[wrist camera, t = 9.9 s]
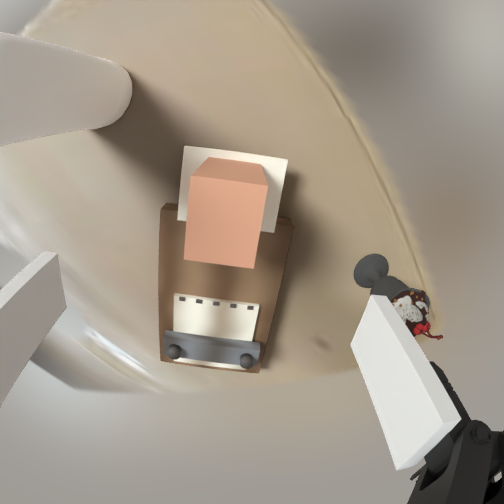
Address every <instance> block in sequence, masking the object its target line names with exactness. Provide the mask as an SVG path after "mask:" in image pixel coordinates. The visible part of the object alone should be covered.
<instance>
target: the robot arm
mask: <svg viewBox="0 0 504 504" xmlns="http://www.w3.org/2000/svg"><path fill="white" fill-rule="evenodd" d="M66 307H67V306H66V301H65V296H64V291H63V285H62V280H61V273H60V267H59V260H58V253H53V252H47V251H44V252H42V253H41V254H40V255H39V256H38V257H36V258H35V259H34V260H33V261H32V262H31V263H30V264H28V265H27V266H26V267H25V268H24V269H23V270H22V271H20V272H19V273H18V274H17V275H16V276H15V277H14V278H13V279H12V280H11V281H10V282H8V283H7V284H6V285H5V286H4V287H3V288H2V289H1V290H0V406H1V405H2V403H3V401H4V400H5V398H6V396H7V394H8V393H9V391H10V389H11V388H12V386H13V385H14V383H15V381H16V380H17V378H18V376H19V375H20V373H21V372H22V370H23V369H24V367H25V366H26V364H27V362H28V361H29V359H30V358H31V356H32V355H33V354H34V352H35V351H36V349H37V348H38V346H39V345H40V343H41V342H42V340H43V339H44V338H45V336H46V335H47V333H48V332H49V331H50V329H51V328H52V326H53V325H54V324H55V322H56V321H57V319H58V318H59V317H60V316H61V314H62V313H63V312H64V310H65V309H66ZM350 345H351V348H352V350H353V353H354V355H355V358H356V360H357V363H358V365H359V368H360V370H361V373H362V375H363V378H364V381H365V383H366V386H367V389H368V391H369V394H370V396H371V399H372V402H373V405H374V407H375V410H376V413H377V415H378V418H379V421H380V424H381V427H382V429H383V432H384V435H385V438H386V441H387V444H388V447H389V449H390V453H391V456H392V459H393V462H394V465H395V468H396V470H400V469H404V468H408V467H412V466H415V465H416V464H417V463H418V462H419V461H420V460H421V459H423V458H425V461H426V464H425V465H424V466H423V467H422V468H421V469H419V470H418V471H417V472H416V473H415V474H413V475H412V477H411V478H410V480H413V479H414V478H416V477H417V476H418V475H419V474H420V475H419V477H418V480H417V481H416V485H415V487H414V489H413V492H412V494H411V496H410V499H409V501H408V503H407V504H504V431H503V432H498V431H491V430H490V428H489V427H488V426H487V425H486V424H485V423H483V422H482V421H478V420H471V419H470V417H469V416H468V413H467V412H466V410H465V408H464V406H463V405H462V403H461V401H460V399H459V398H458V396H457V394H456V392H455V391H453V387H452V386H451V384H450V383H448V379H447V377H446V376H445V374H444V372H443V371H442V370H441V369H440V368H439V367H438V366H437V365H436V364H435V363H434V362H429V361H428V359H427V358H426V356H425V355H424V353H423V351H422V350H421V348H420V346H419V345H418V343H417V342H416V340H415V339H414V337H413V335H412V334H411V332H410V331H409V329H408V328H407V326H406V325H405V323H404V322H403V320H402V319H401V317H400V316H399V314H398V313H397V311H396V310H395V308H394V307H393V305H392V304H391V302H390V301H389V299H388V298H387V296H381V295H371V296H370V299H369V301H368V304H367V306H366V309H365V311H364V314H363V316H362V319H361V321H360V324H359V326H358V328H357V331H356V333H355V335H354V338H353V340H352V342H351V344H350ZM499 472H502V478H501V479H500V480H498V481H497V482H495V481H494V476H496V475H497V474H498V473H499Z"/></svg>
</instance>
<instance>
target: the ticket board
mask: <svg viewBox="0 0 504 504" xmlns="http://www.w3.org/2000/svg"><path fill="white" fill-rule="evenodd" d="M177 218H178V204H173V203H166V204H165V205H164V206H163V207H162V208H161V211H160V232H159V276H158V294H159V338H160V359H161V361H164V362H170V363H176V364H183V365H189V366H196V367H204V368H211V369H220V370H229V371H238V372H249V373H259V371H260V367H261V363H262V359H263V355H264V351H265V347H266V343H267V339H268V335H269V331H270V327H271V323H272V319H273V315H274V311H275V306H276V302H277V298H278V294H279V289H280V285H281V281H282V277H283V272H284V268H285V263H286V259H287V254H288V250H289V245H290V241H291V236H292V232H293V225H292V222H291V220H290V219H285V218H278V217H277V220H276V225H275V230H274V233H271V232H264V231H260V235H259V241H258V247H257V252H256V258H255V264H254V269H252V268H244V267H236V266H228V265H221V264H213V263H206V262H198V261H191V260H184V247H185V233H186V221H181V220H177Z"/></svg>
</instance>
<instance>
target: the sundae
mask: <svg viewBox="0 0 504 504" xmlns="http://www.w3.org/2000/svg"><path fill="white" fill-rule="evenodd" d="M387 273H388V262H387V260H386V258H384V257H383V256H382V255H379V254H371V255H368V256H366V257H364V258H363V259H361V260H360V261H359V263H358V264H357V265H356V268H355V270H354V279H355V281H356V283H357V284H358V285H359V286H361V287H364V288H372V289H371V292H370V296H371V295H381V296H387V298H388V299H389V301H390V302H391V304H392V305H393V307H394V308H395V310H396V311H397V313H398V314H399V316H400V317H401V319H402V320H403V322H404V323H405V325H406V326H407V328H408V329H409V331H410V332H411V334H412V335H413V337H415V336H416V335H419V334H421V333H422V334H424V335H425V336H427V337H430V338H437V339H438V340H439V339H441V338H443V336H442V335H439V336H432V335H431V334H430V333H429V329H430V327H431V325H430V323H429V322H428V317H429V312H428V311H429V306H430V301H429V298H428V296H427V295H426V294H425V292H424V291H423V290H421V291H420V290H417V289H414V288H409V287H408V286H406V285H405V284H404V283H403V282H402V281H400V280H398V279H397V278H395V277H393V276H386V275H387ZM424 332H427V333H428V335H427V334H425V333H424Z"/></svg>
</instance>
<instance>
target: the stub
mask: <svg viewBox="0 0 504 504" xmlns="http://www.w3.org/2000/svg"><path fill="white" fill-rule="evenodd" d="M287 162H288V160H287V159H281V158H276V157H269V156H263V155H257V154H250V153H243V152H236V151H228V150H220V149H212V148H203V147H194V146H184V152H183V162H182V171H181V181H180V192H179V204H178V218H177V220H181V221H186V233H185V247H184V260H191V261H198V262H206V263H213V264H221V265H228V266H236V267H244V268H252V269H254V264H255V258H256V252H257V247H258V241H259V235H260V231H264V232H271V233H274V230H275V225H276V220H277V215H278V210H279V204H280V199H281V194H282V188H283V183H284V178H285V172H286V167H287Z"/></svg>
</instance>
